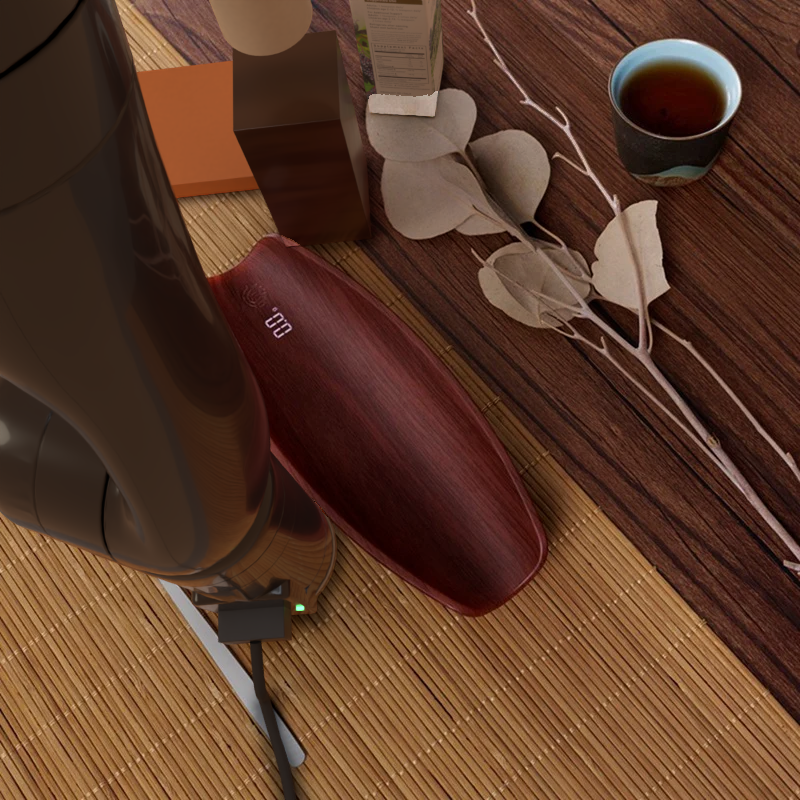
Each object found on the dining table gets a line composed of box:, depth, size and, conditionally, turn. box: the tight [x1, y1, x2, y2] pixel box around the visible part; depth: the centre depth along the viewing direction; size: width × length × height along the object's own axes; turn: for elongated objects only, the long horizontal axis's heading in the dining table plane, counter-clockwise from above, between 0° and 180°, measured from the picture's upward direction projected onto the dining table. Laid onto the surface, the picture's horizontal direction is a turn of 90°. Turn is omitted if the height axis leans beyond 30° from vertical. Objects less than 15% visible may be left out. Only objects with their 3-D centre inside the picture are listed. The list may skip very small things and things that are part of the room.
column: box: [232, 29, 372, 247], centre depth 68 cm, size 7×7×16 cm
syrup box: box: [348, 0, 445, 103], centre depth 71 cm, size 6×6×14 cm
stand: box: [137, 60, 260, 199], centre depth 78 cm, size 12×12×2 cm
